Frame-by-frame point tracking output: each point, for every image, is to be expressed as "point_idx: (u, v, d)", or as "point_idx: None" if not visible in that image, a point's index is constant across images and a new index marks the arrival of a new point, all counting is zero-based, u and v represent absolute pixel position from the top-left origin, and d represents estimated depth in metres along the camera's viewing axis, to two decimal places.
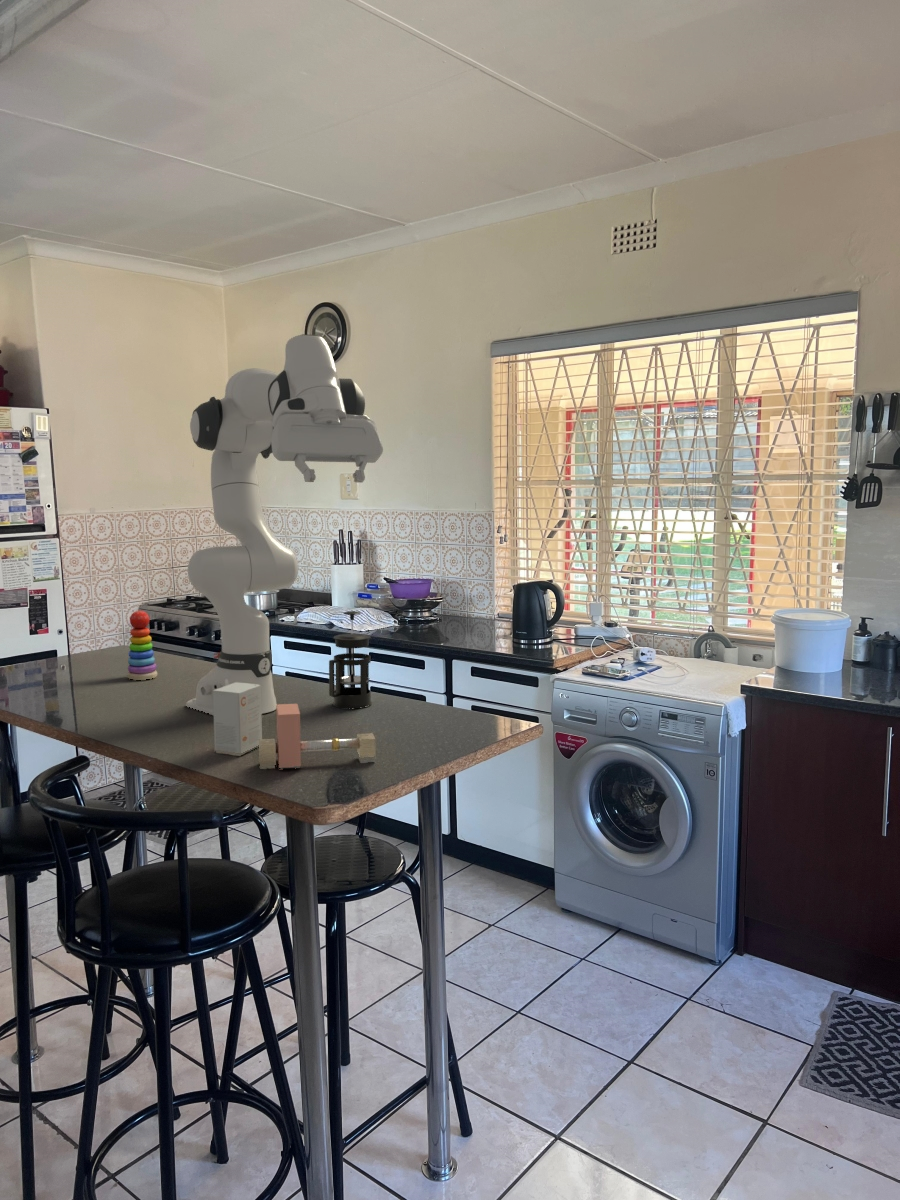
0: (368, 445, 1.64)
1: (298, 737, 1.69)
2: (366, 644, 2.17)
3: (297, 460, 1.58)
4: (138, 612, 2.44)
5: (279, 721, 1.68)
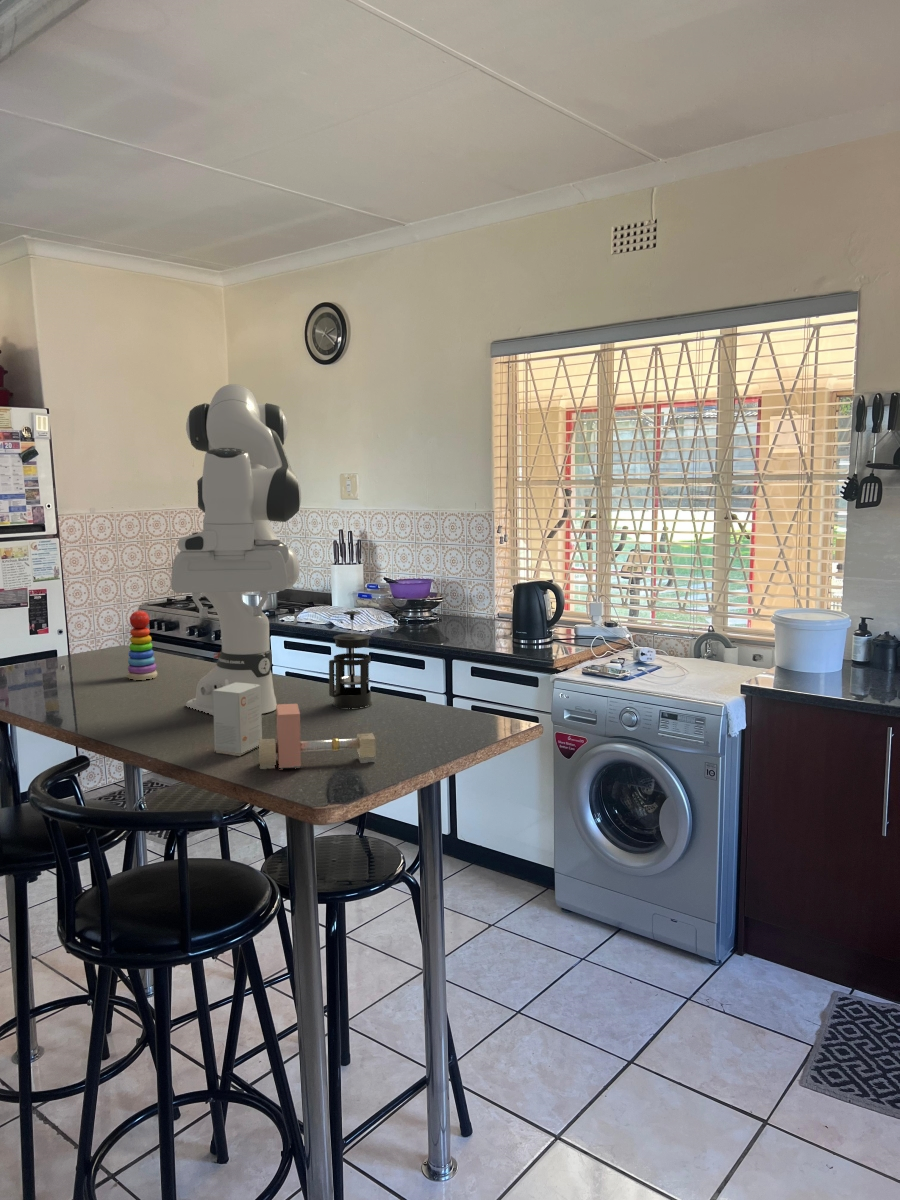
0: (270, 581, 1.61)
1: (298, 737, 1.69)
2: (366, 644, 2.17)
3: None
4: (138, 612, 2.44)
5: (279, 721, 1.68)
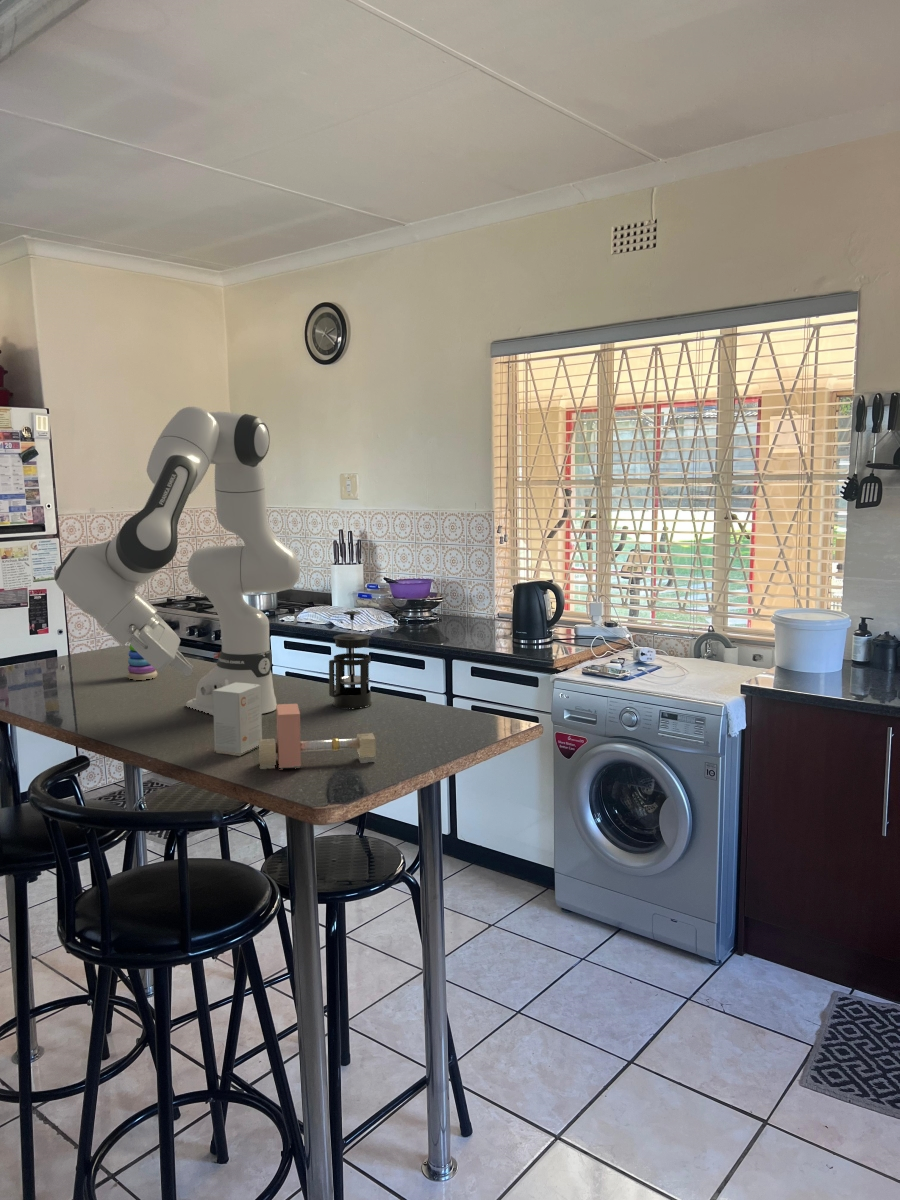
0: None
1: (298, 737, 1.69)
2: (366, 644, 2.17)
3: None
4: None
5: (279, 721, 1.68)
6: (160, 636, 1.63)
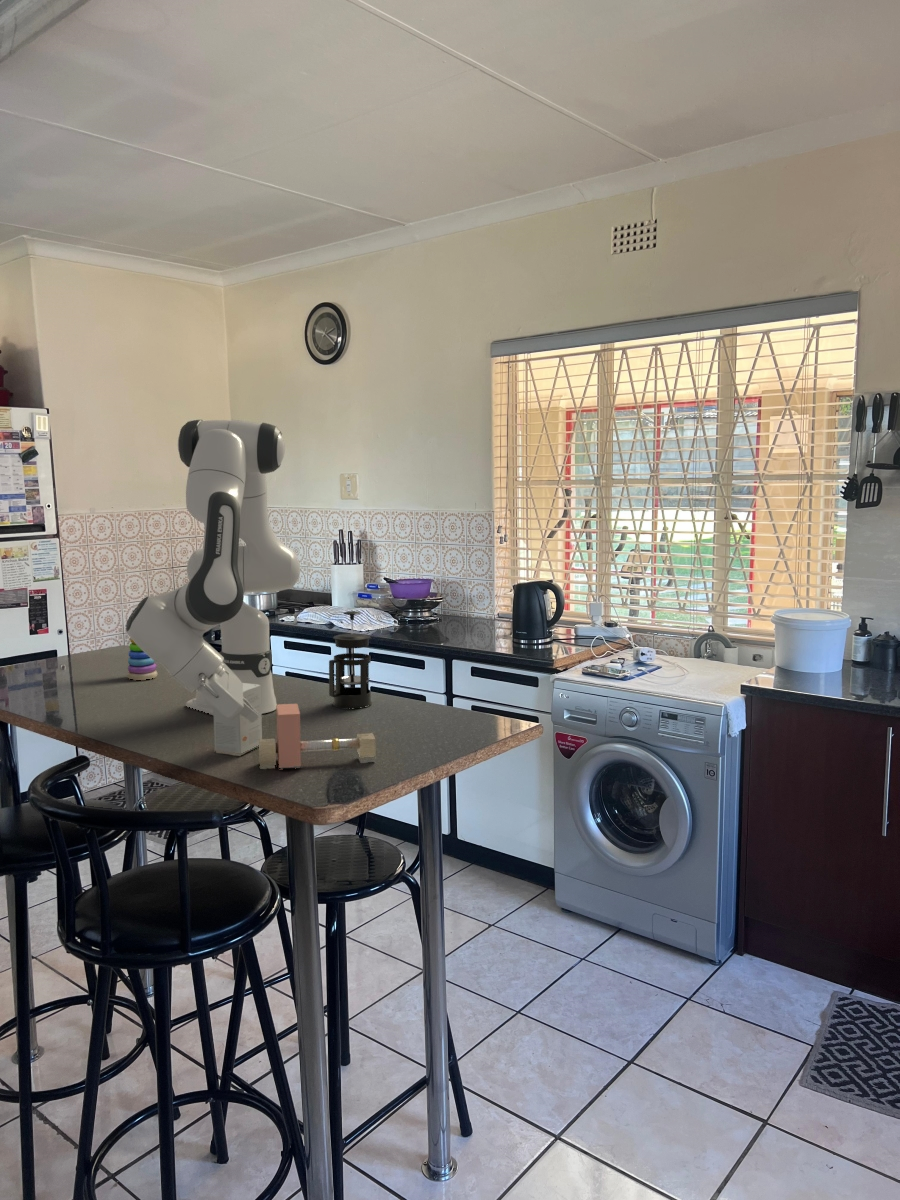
0: None
1: (298, 737, 1.69)
2: (366, 644, 2.17)
3: None
4: None
5: (279, 721, 1.68)
6: (227, 683, 1.67)
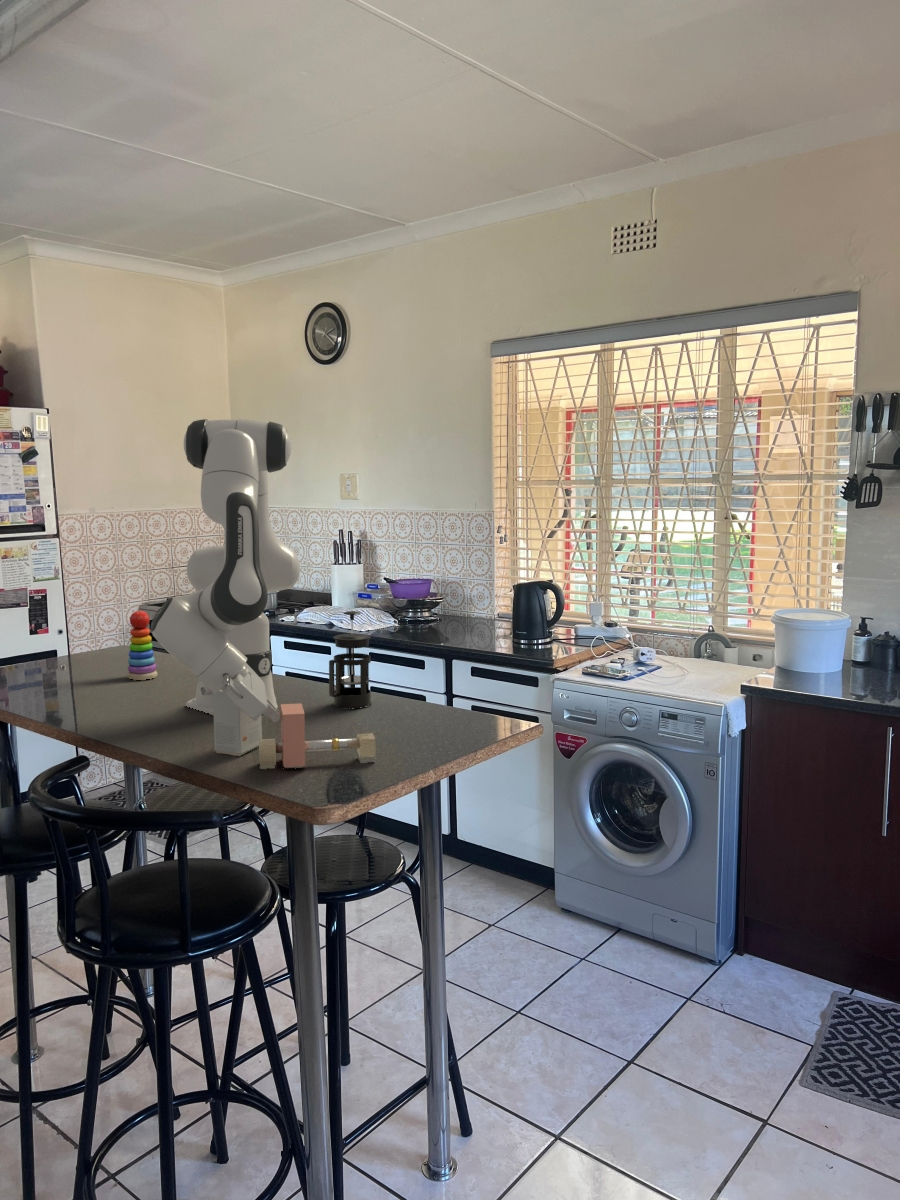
0: None
1: (302, 737, 1.69)
2: (366, 644, 2.17)
3: None
4: (138, 612, 2.44)
5: (284, 721, 1.68)
6: (250, 683, 1.68)
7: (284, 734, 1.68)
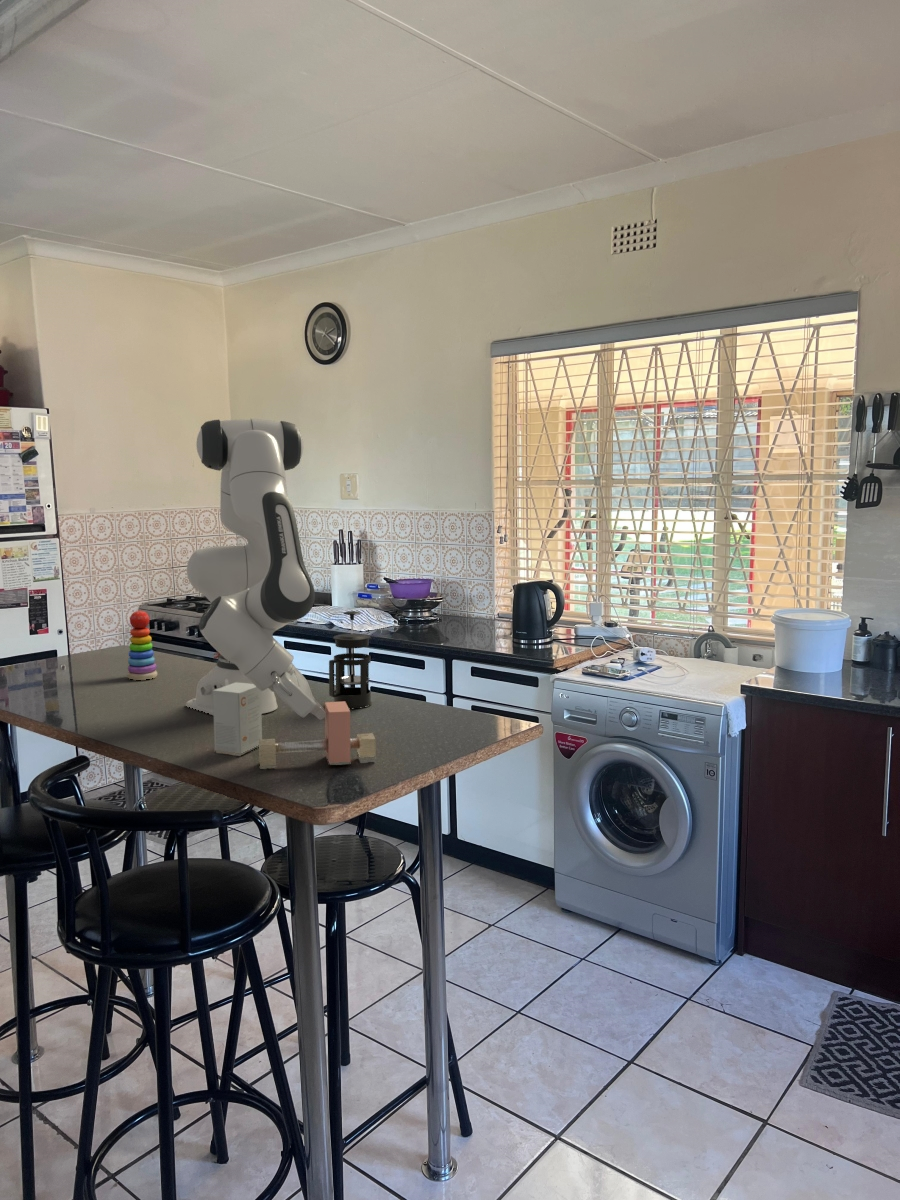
0: None
1: (348, 734, 1.71)
2: (366, 644, 2.17)
3: None
4: (138, 612, 2.44)
5: (330, 718, 1.70)
6: (297, 681, 1.70)
7: (330, 731, 1.70)
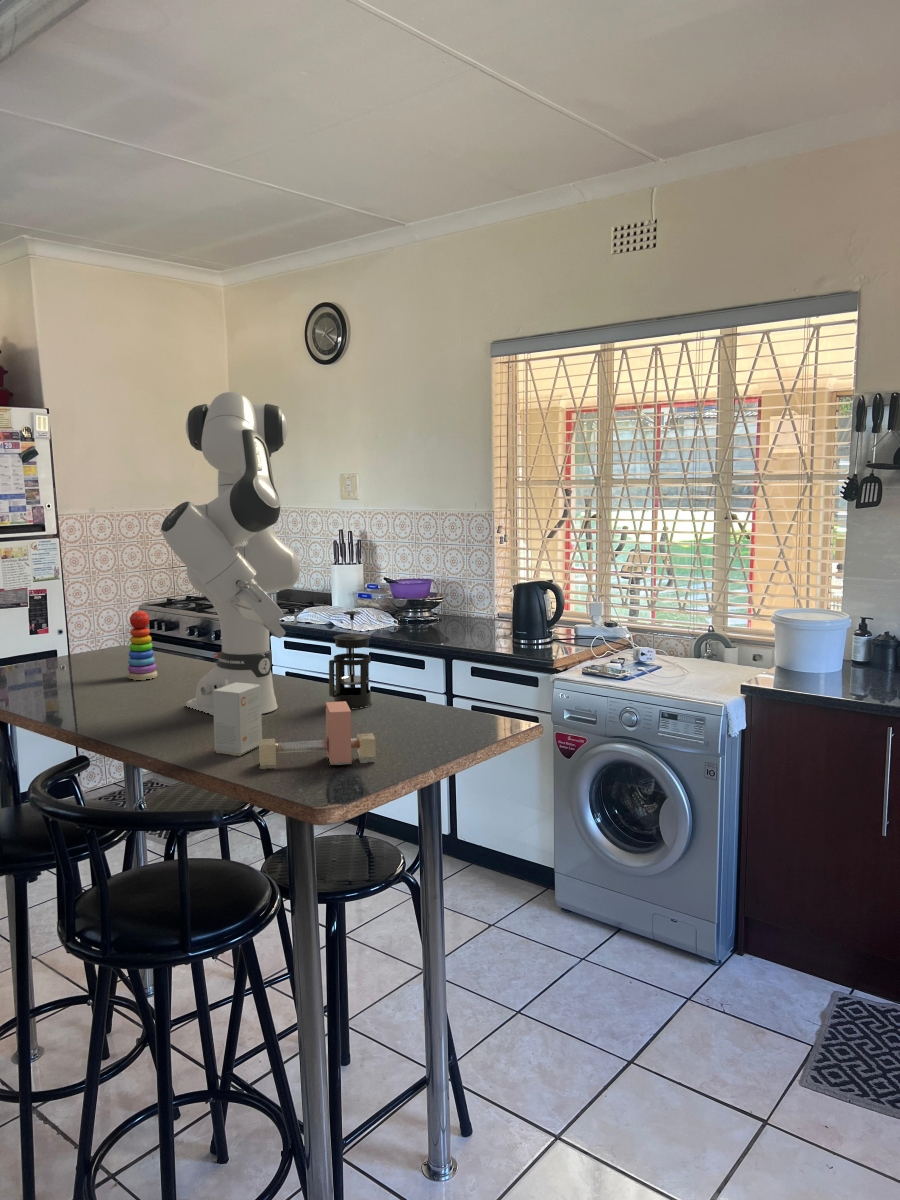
0: (260, 619, 1.61)
1: (349, 734, 1.71)
2: (366, 644, 2.17)
3: None
4: (138, 612, 2.44)
5: (331, 718, 1.70)
6: None
7: (331, 731, 1.70)
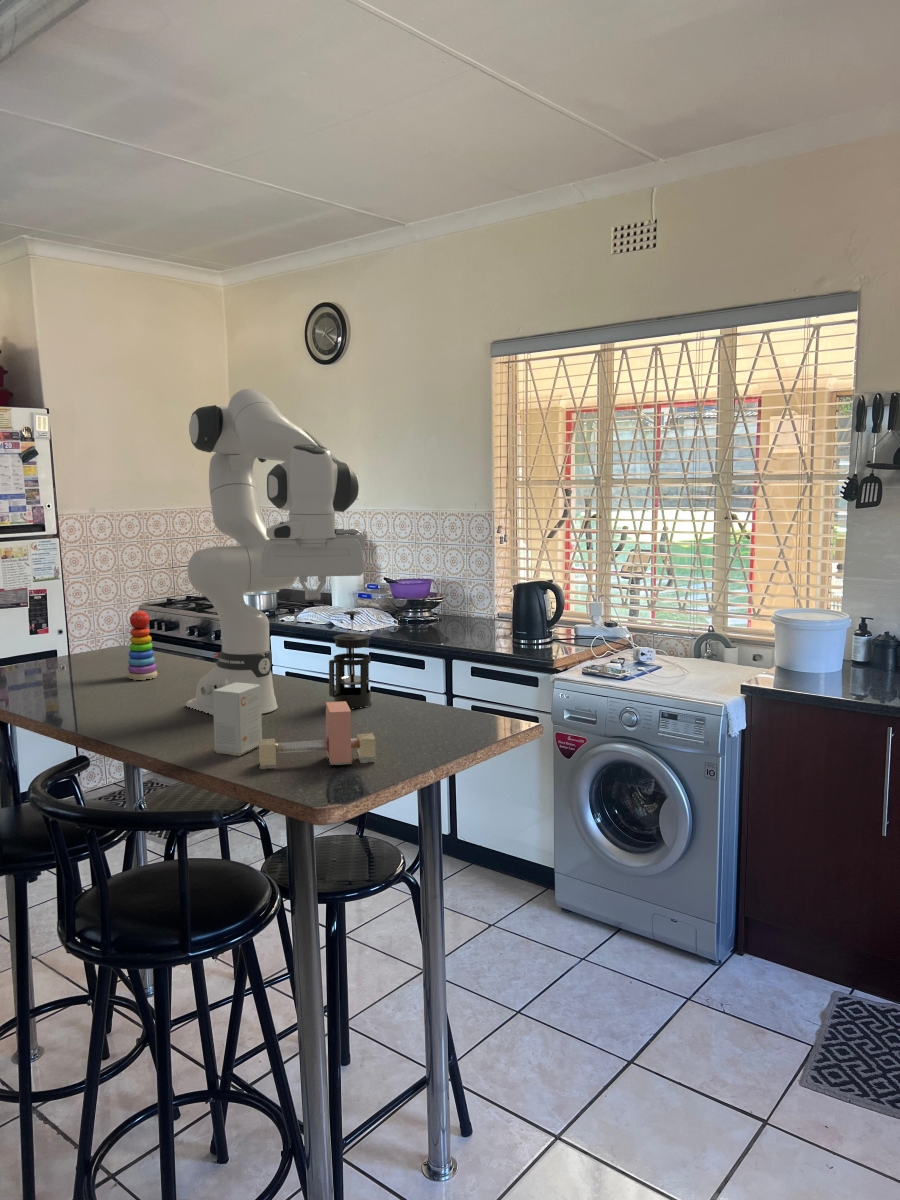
0: (349, 567, 1.76)
1: (349, 734, 1.71)
2: (366, 644, 2.17)
3: (299, 580, 1.76)
4: (138, 612, 2.44)
5: (331, 718, 1.70)
6: None
7: (331, 731, 1.70)
